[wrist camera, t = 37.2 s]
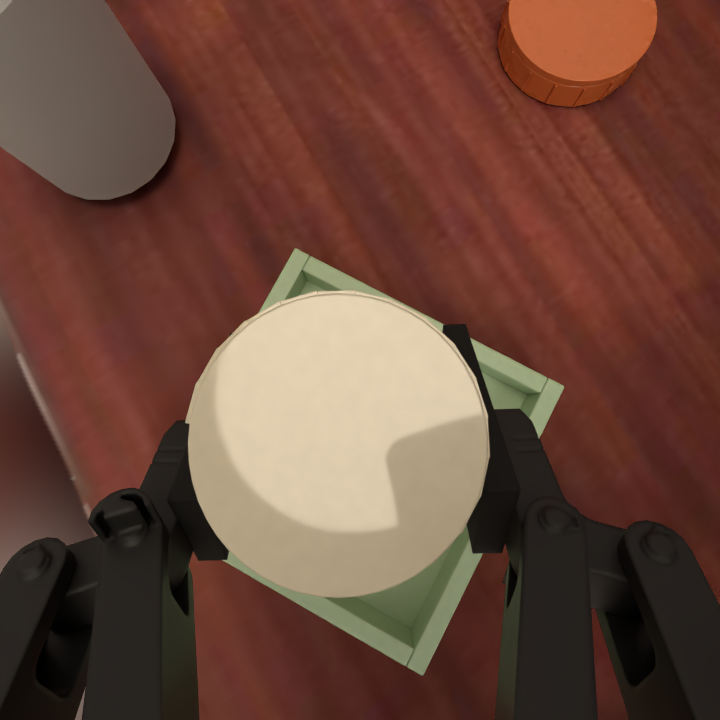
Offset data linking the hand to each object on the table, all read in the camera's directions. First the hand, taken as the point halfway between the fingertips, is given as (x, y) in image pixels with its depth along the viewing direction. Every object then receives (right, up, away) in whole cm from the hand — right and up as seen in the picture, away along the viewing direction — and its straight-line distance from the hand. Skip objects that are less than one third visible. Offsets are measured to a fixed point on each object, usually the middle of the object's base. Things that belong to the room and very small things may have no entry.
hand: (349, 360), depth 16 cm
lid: (+11, +17, +6) cm, 21 cm away
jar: (0, -3, +4) cm, 5 cm away
